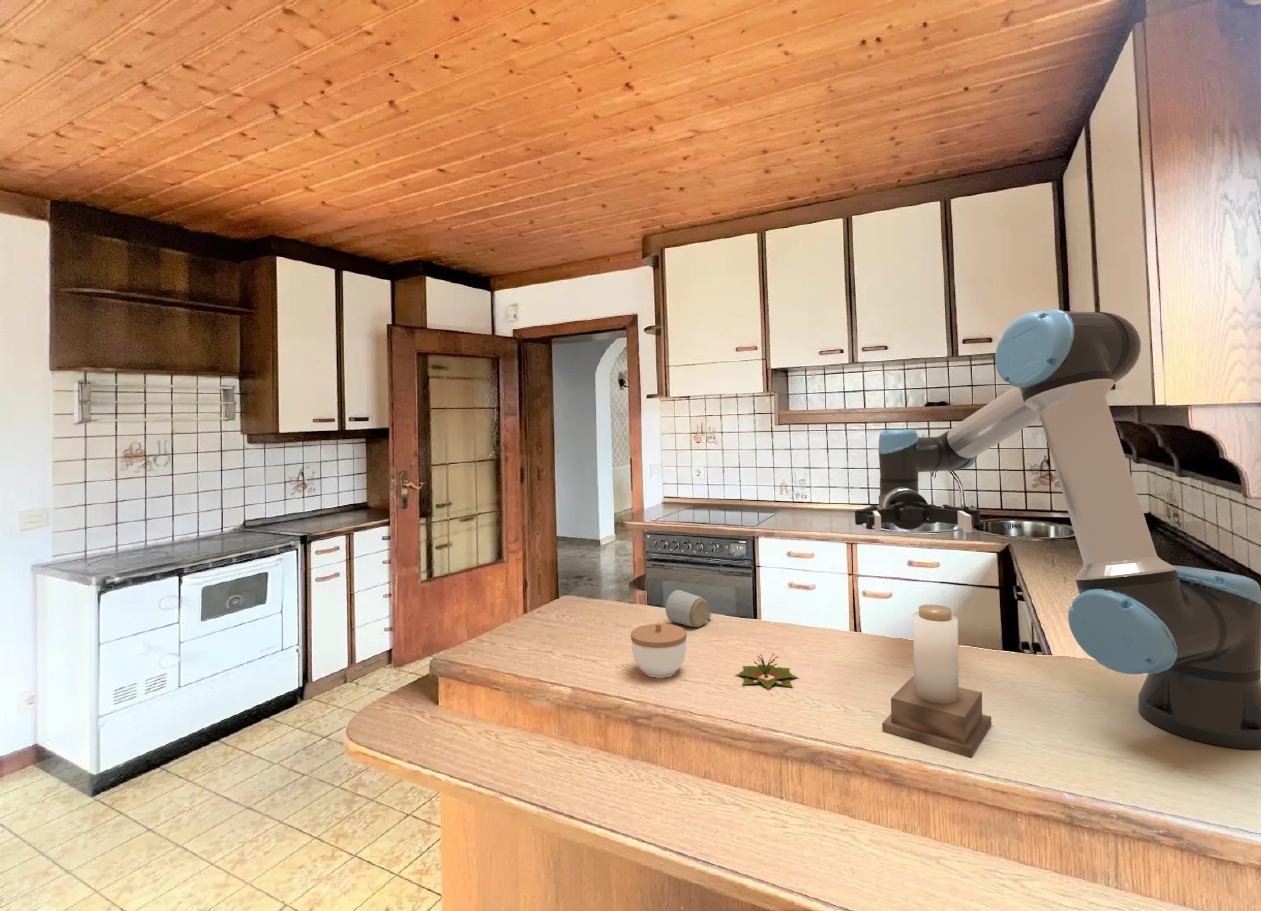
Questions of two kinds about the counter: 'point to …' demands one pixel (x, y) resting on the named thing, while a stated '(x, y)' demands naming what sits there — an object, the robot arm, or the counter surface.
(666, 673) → the lidded jar
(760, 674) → the lily flower
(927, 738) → the pedestal
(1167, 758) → the counter surface
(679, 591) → the ceramic mug
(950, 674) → the canister
